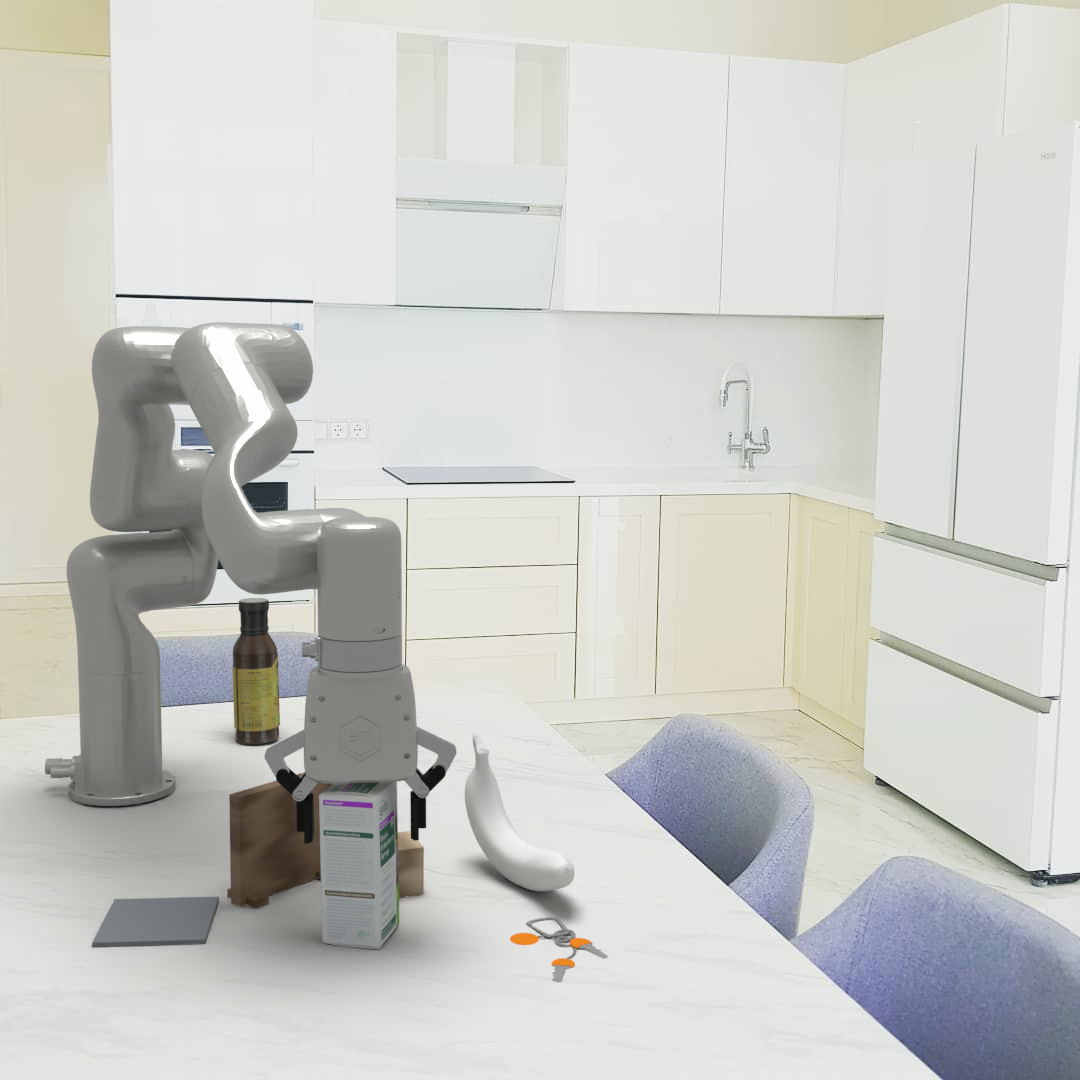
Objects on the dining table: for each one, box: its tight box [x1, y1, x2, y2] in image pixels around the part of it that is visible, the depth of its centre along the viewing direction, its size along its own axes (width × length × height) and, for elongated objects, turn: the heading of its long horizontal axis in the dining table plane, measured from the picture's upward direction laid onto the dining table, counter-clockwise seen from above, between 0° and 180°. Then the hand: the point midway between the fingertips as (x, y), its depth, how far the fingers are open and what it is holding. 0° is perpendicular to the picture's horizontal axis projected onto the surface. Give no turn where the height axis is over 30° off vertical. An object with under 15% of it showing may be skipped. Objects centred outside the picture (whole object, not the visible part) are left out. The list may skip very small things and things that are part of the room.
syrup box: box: [319, 781, 400, 950], centre depth 125 cm, size 6×6×14 cm
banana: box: [464, 733, 575, 892], centre depth 138 cm, size 5×19×15 cm, turn 37°
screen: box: [226, 772, 333, 909], centre depth 136 cm, size 12×4×11 cm, turn 141°
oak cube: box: [398, 830, 425, 899], centre depth 137 cm, size 5×5×5 cm
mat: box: [91, 896, 220, 948], centre depth 128 cm, size 10×10×1 cm
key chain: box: [509, 916, 609, 983], centre depth 124 cm, size 13×7×1 cm, turn 24°
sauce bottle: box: [232, 597, 281, 746], centre depth 188 cm, size 6×6×20 cm
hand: (362, 837), depth 124 cm, fingers open, 9 cm apart
